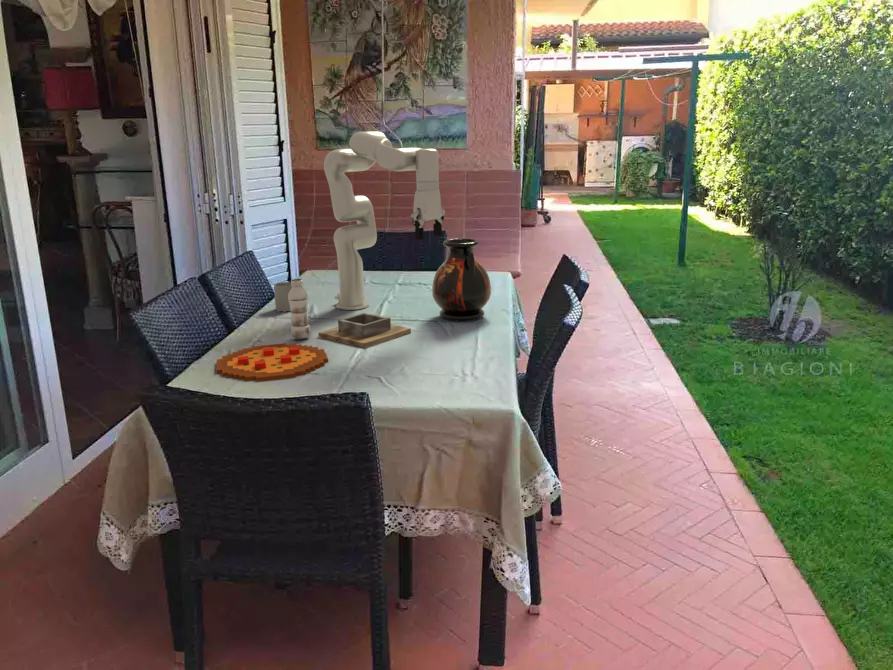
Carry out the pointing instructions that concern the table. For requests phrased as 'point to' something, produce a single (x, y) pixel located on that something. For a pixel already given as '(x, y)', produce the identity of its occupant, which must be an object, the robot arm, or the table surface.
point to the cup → (282, 296)
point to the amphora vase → (461, 283)
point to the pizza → (271, 362)
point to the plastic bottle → (298, 310)
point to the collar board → (364, 330)
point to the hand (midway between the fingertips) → (428, 237)
